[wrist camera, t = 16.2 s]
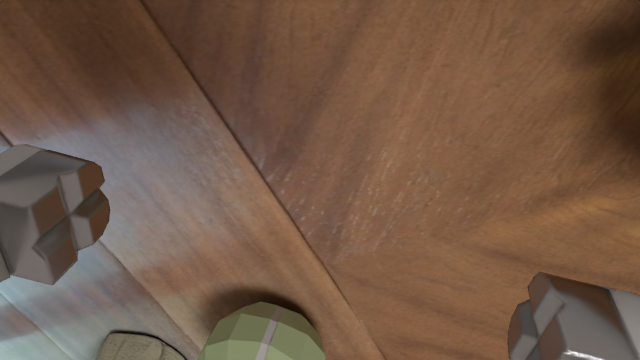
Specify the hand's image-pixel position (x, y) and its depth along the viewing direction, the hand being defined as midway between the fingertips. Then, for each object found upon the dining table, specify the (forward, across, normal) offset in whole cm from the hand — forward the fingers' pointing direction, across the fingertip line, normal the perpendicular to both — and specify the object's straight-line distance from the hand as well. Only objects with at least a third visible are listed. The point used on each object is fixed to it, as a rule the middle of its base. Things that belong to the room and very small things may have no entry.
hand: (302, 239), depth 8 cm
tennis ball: (+31, +7, +44) cm, 54 cm away
